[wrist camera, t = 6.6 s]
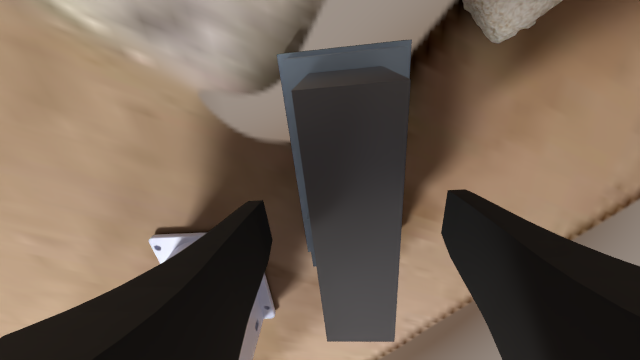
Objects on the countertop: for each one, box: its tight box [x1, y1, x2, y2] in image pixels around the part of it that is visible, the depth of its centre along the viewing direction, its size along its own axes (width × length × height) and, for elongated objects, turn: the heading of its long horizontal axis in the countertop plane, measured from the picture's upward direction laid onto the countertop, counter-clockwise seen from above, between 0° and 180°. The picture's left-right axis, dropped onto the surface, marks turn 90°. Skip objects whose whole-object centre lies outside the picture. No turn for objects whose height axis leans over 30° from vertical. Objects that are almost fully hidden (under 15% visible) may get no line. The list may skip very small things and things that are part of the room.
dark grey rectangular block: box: [291, 66, 411, 342], centre depth 11 cm, size 11×3×4 cm, turn 6°
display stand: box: [277, 40, 412, 266], centre depth 13 cm, size 12×6×5 cm, turn 6°
